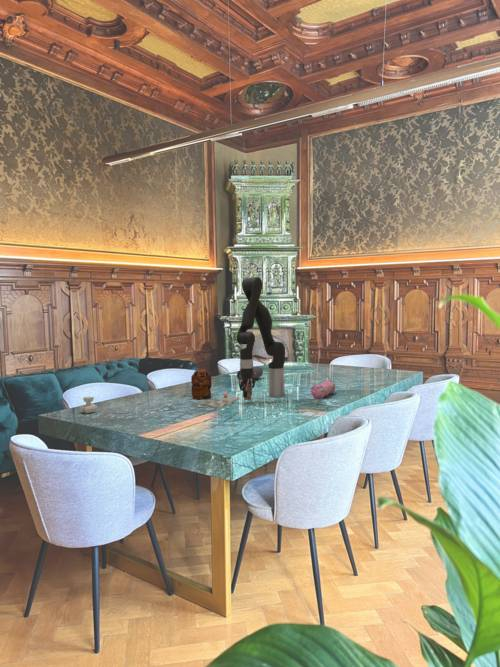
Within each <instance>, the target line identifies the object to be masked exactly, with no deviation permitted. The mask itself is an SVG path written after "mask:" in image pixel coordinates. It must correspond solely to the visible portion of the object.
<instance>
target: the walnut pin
mask: <svg viewBox="0 0 500 667" xmlns="http://www.w3.org/2000/svg"><path fill="white" fill-rule="evenodd" d="M245 386H246V385H245ZM244 388H245V387H244ZM243 399H244V401H250V400H252V396H251V385H248V387H247V398H244V397H243Z"/></svg>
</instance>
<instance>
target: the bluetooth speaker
mask: <svg viewBox="0 0 500 667" xmlns="http://www.w3.org/2000/svg"><path fill="white" fill-rule="evenodd" d="M263 374H264V370H263V368H262V367H261V366H258V365H255V366H254V365H253V375H252V377H254V378H256V379H258V378H260V377H262V376H263ZM236 379H237V381H241V379H242V376H241V375H240V370H238V371H237V372H236Z"/></svg>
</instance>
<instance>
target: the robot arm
mask: <svg viewBox="0 0 500 667" xmlns="http://www.w3.org/2000/svg"><path fill="white" fill-rule="evenodd" d="M263 284H264V283H263V280H262V278H260V277H258V276H253V277H247V278H244V279H243V280H242V282H241V287H242V288H241V289H242V291H243V294H244V296H245V298H246V299H247V301H248V302H247V304H246V306H245V308H244V310H243V312H242V318H241V324H240V326H239V328H238V330H237V333H236V342H237V343H238V345H246V347H243V348H241V349H240V351H239V359H240V360H239V371H240V375H241V376H242V379H241V381H239V380H237V381H238V385H239V386H238V387H239V390H240V391H242V397H243V399H244V398H247V387H248V385H251V397H252V396H253V389H254V388H255V384H256V379H257V378H254V377H252V375H253V367H254V359H253V350H254V345H255V341H256V336H255V333H254V332H252V331H248V330H249V329H253V328H254V325H255V322H256V325H257V326H258V330H259V332H260V335H261V339H262V341H263V342H262V343H263V346H264V349H265V352H266V354H267V356H269V357H272V361H270V362H269V363H268V364H267V365H268V396H269V397H272V398H281V397H284V396H285V395H286V394H285V392H286V391H285V385H286V384H285V379H284V378H285V375H284V374H285V372H284V365H285V361H286V347H285V344H284V343H283V342H281V341H275V339H274V336H273V334H272V327H273V318H272V316H271V313H270V311H269V309H268V308H267V307H266V306H265V305H264V304H263V303H262V302H261V301H260V298H261V294H262V290H263ZM245 385H246V386H245ZM244 387H245V388H244Z"/></svg>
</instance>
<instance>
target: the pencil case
mask: <svg viewBox="0 0 500 667" xmlns="http://www.w3.org/2000/svg"><path fill="white" fill-rule="evenodd" d="M310 389H311V390H310V393H311V395H312V397H313V398H314V399H317V398H319V399H323V398H324V397H326V396H327V395H330V394H333V393H334V392H335V390H336V383H335V382H334V381H333V380H332V379H329V378H328V379H326V380H324V381H323V382H321V383H317V384H314V385H313V386H312V387H311V388H310ZM329 393H330V394H329Z"/></svg>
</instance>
